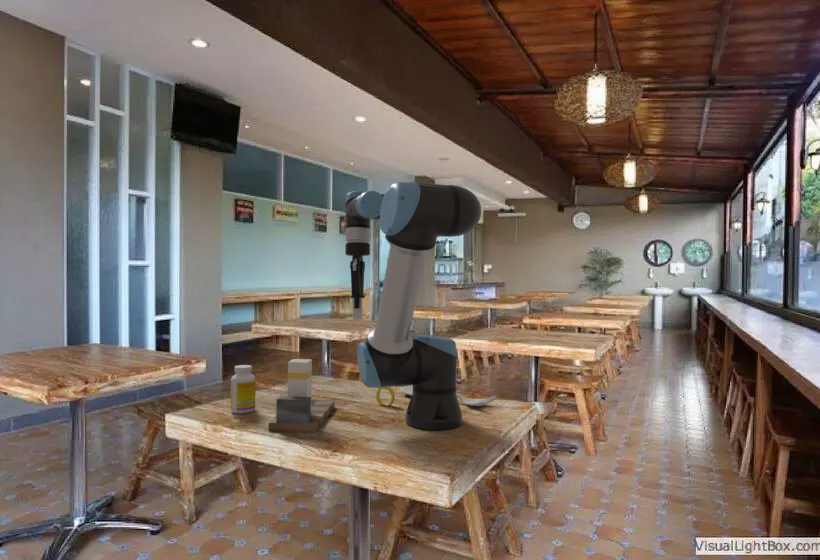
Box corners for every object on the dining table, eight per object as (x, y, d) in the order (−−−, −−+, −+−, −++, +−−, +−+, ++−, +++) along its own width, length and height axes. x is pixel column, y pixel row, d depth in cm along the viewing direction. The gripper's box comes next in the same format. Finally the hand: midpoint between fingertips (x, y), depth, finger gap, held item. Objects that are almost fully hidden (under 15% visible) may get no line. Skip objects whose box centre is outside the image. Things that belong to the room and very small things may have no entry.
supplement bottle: (260, 410, 149) (260, 365, 149) (241, 415, 144) (241, 369, 143) (244, 407, 153) (244, 363, 152) (225, 412, 147) (225, 366, 147)
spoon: (483, 413, 150) (483, 401, 150) (395, 396, 169) (395, 386, 168) (497, 406, 157) (497, 395, 157) (411, 391, 176) (411, 381, 176)
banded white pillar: (292, 410, 140) (293, 358, 140) (311, 411, 140) (312, 359, 139) (287, 416, 135) (287, 362, 134) (306, 416, 134) (307, 362, 134)
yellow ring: (395, 406, 156) (397, 387, 156) (390, 408, 154) (391, 388, 154) (379, 402, 160) (380, 383, 159) (374, 404, 157) (375, 384, 157)
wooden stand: (294, 406, 154) (294, 379, 154) (334, 407, 154) (334, 380, 154) (268, 430, 130) (268, 399, 130) (315, 432, 130) (316, 400, 130)
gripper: (349, 244, 167) (349, 318, 166) (341, 240, 154) (341, 320, 153) (372, 244, 167) (372, 318, 166) (366, 240, 154) (366, 320, 153)
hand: (357, 319), depth 160 cm, fingers closed
